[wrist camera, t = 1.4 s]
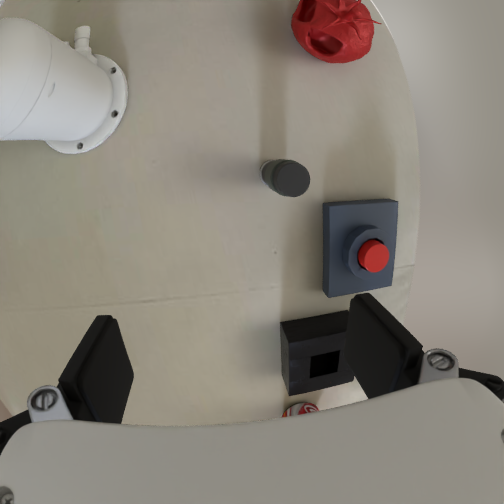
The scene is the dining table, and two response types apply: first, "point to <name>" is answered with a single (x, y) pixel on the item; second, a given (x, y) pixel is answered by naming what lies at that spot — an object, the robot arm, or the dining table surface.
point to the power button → (373, 255)
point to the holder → (314, 353)
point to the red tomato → (333, 29)
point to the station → (356, 244)
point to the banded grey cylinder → (285, 177)
